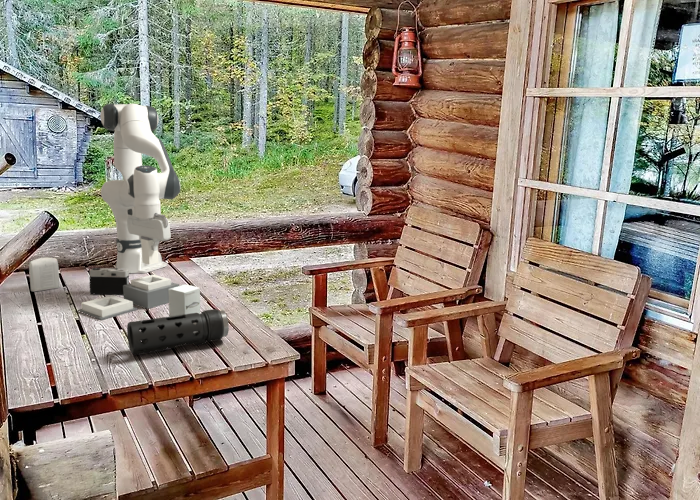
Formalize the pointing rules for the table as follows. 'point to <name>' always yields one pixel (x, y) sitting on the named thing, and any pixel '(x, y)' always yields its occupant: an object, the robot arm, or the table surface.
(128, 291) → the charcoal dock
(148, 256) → the plug
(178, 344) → the muzzle brake
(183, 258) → the table surface
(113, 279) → the camera
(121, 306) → the frame
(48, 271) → the photo printer
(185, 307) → the supplement box
